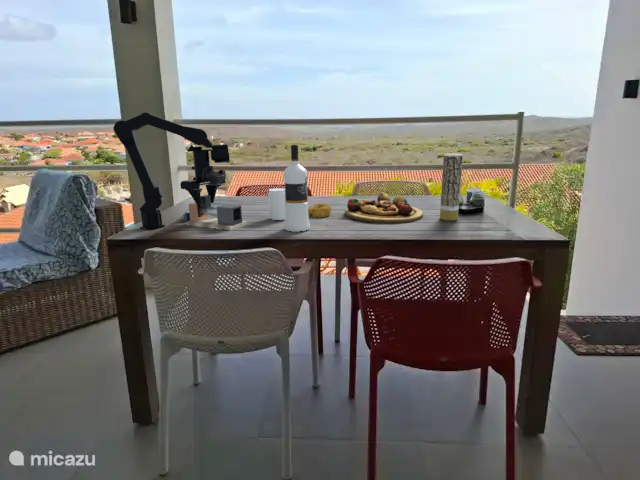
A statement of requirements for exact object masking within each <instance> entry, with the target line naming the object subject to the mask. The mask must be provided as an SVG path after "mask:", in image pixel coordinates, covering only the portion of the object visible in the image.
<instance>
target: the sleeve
mask: <svg viewBox="0 0 640 480" xmlns="http://www.w3.org/2000/svg"><path fill="white" fill-rule="evenodd" d="M216 207H217V217H216V218H218V224H221V225H230V226H234V225H237V224H240V223H242V221H243V213H242V210H243V209H242V205H240V204H231V203H230V204H229V203H228V204H227V203H224V204H222V205H218V206H216Z"/></svg>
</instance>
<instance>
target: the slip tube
mask: <svg viewBox="0 0 640 480" xmlns="http://www.w3.org/2000/svg"><path fill="white" fill-rule="evenodd" d="M200 197H201V206H200V207H199V206H197V209H198V215H203V216H208V217H212V218H218V217H217V207H218V206H215V207H214V206H212V205H211V198H210V195H208V194H204V195H200Z"/></svg>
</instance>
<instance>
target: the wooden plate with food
mask: <svg viewBox="0 0 640 480" xmlns="http://www.w3.org/2000/svg"><path fill="white" fill-rule="evenodd" d="M344 214H345V215H346V217H348V218H349V219H352V220H355V221H357V222H363V223H370V224H379V225H380V224H381V225H382V224H384V225H385V224H387V225H389V224H390V225H393V224H405V223H412V222H415V221H419V220H421V219H422V218H423V217H424V213H423V211H422V209H420V208H417V207H414V206H412V205H410V203H408V200H407V199H406V198H405V197H404V196H403V195H402V194H399V195H397V196H395V197H394V198H393V199H392V201H391V198H390V195H388V194H387V193H386V192H385V191H384V192H383V191H382V192H381V193H380V194H379V195H378V197H377V199H376V200H369V199H363V200H361V201H359V200H358V199H357V198H355V197H351V198H349V199H348V201H347V206H346V209H345V210H344Z"/></svg>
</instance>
